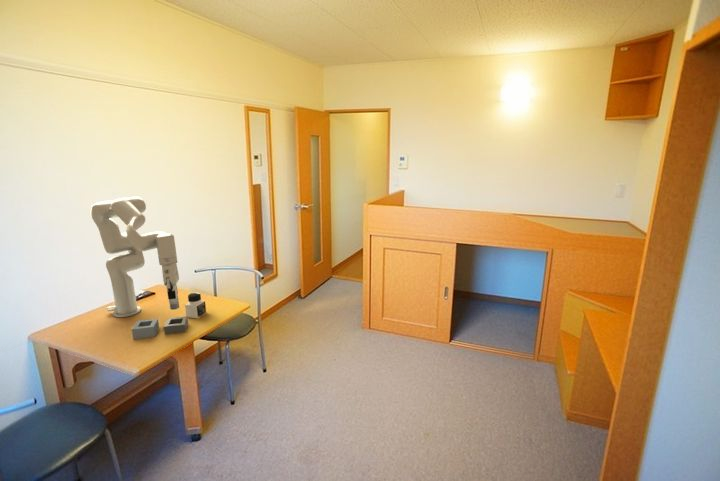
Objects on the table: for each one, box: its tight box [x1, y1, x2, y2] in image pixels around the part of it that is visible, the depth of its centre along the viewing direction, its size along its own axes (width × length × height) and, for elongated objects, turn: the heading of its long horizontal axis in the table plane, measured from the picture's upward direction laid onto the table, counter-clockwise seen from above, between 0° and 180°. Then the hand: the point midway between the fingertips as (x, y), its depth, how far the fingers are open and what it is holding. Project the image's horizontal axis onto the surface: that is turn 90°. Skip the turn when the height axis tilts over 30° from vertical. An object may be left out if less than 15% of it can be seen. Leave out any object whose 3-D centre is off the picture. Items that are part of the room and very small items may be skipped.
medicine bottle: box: [184, 292, 207, 319], centre depth 191 cm, size 7×7×12 cm
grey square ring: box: [163, 315, 189, 335], centre depth 177 cm, size 9×9×4 cm
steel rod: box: [168, 283, 180, 310], centre depth 173 cm, size 4×4×12 cm
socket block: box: [131, 318, 160, 340], centre depth 173 cm, size 9×9×5 cm
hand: (173, 296), depth 173 cm, fingers closed on steel rod, 4 cm apart
